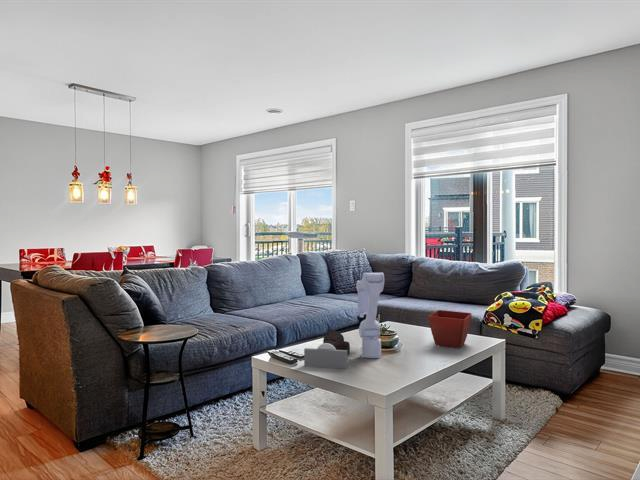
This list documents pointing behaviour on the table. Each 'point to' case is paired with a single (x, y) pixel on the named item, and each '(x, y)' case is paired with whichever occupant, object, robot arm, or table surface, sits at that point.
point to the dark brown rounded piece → (336, 341)
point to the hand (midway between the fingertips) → (363, 328)
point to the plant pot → (449, 328)
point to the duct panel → (325, 357)
